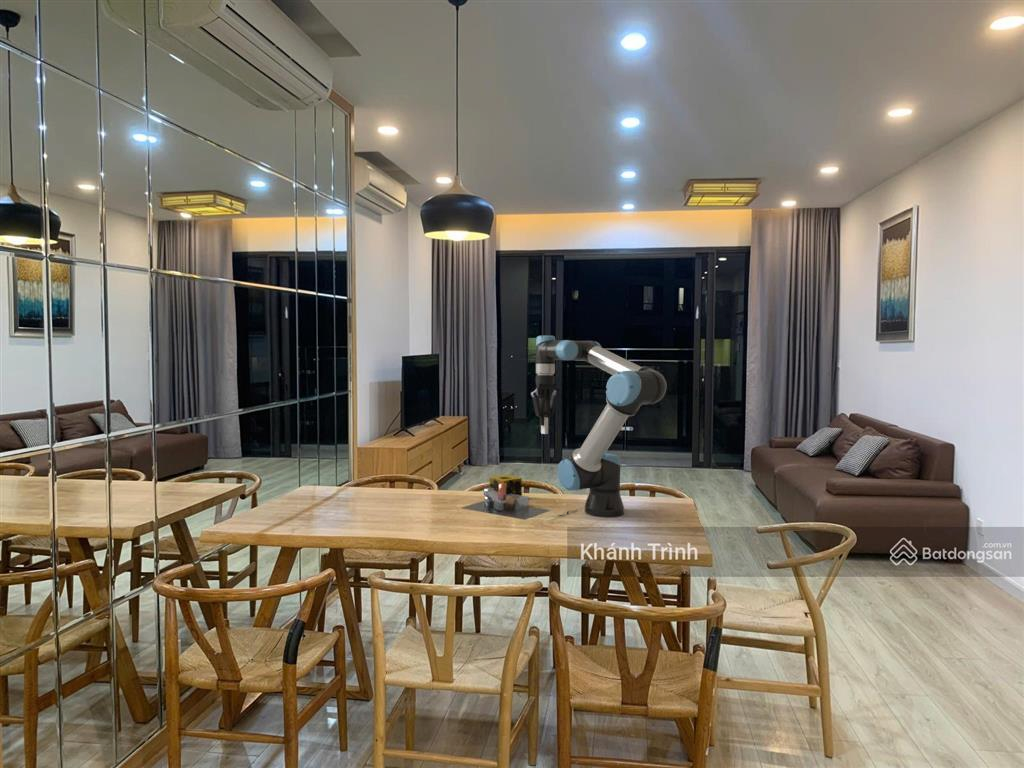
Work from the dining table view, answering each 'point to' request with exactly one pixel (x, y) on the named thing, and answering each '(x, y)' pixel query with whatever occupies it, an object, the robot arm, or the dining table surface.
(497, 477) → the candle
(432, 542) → the dining table surface
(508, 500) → the walnut
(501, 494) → the lever
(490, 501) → the gray mechanism base plate
